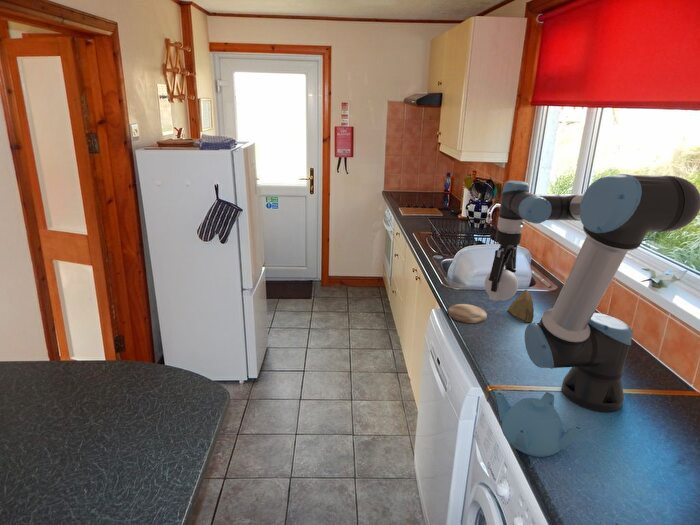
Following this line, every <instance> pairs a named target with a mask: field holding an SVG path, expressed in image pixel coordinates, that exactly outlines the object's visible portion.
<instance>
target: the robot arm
mask: <svg viewBox="0 0 700 525" xmlns="http://www.w3.org/2000/svg"><path fill="white" fill-rule="evenodd" d="M500 198H501V199H500V206H499V212H498V214H499V215H498V218H497V226H496V227H497V230H496V233H495V242H497V243H499V244H500V245H499V247H498V249H495V251H494V258H493V262H492V265H491V270H490V272H491V273H490V272H489V273H490V277H489V281H491V288H490V295H488V300H490V301H494V302H498V301H499V300H498V296H499V290H500V283H501V282H500V278H501V275H502V272H503V269H506V270H509V271H511V272H512V273H513V274H516V272H517V270H516V268H517V250H518V249H517V248H518V245H520V244H521V241H522V240H521V239H522V235H523V234H522V231H523V228H524V227H523V226H525V221H526V222H528V223H533V224H536V225H537V224H542V223H544V222H546V221H578V222H579V221H580V222H581V224H582V225H583V226H582V230H583V232H584V234H585V235H586V236H585V239H584V241H583V243H582V245H581V248H580V249H579V252H578V253H577V255H576V256H577V257H576V258H575V260H574V262H573V265H572V267H571V269H570V270H569V271H570V272H569V273H568V276H567V278H566V279H565V282H564V284H563V286H562V288H561V290H560V292H559V295H558V297H557V298H556V301H555V304H554V305H553V308H549V309H547V310H546V311H544V313H543V314H542V316H541V318H540V321H539V322H535V321H534V322H530V323H528V324H527V325H526V327H525V330H524V345H525V350H526V352H527V355H528V357H529V359H530V361H531V362H532V363H533V365H534V366H536V367H537V368H541V369H558V368H559V369H560V368H561V369H562V368H570V369H569V370H568V372H567V374H566V375H565V376H564V377H563V380H562V384H561V390H562V393H563V394H564V396H565V397H566V398H567V399H569V400H570V401H571V402H573V403H574V404H576V405H578V406H579V407H582V408H585V409H588V410H591V411H595V412H600V413H601V412H602V413H611V412H612V413H613V412H617V411H619V410H621V409H622V406H623V403H624V400H625V395H624V387H623V382H622V381H623V380H622V377H623V374H624V369H625V366H626V363H627V358H628V355H629V353H630V352H629V351H630V348H631V345H632V339H633V329H632V328H631V326H629V325H628V324H627V323H626V322H624V321H622V320H621V319H618V318H617V317H613V316H611V315H608V314H604V313H600V312H596V310H597V308H598V306H599V304H600V303H601V301H602V299H603V297H604V295H605V293H606V292H607V290H608V288H609V286H610V285H611V283H612V280H613V279H614V277H615V275H616V274H617V272H618V270H619V269H620V266H621V264H622V262H623V260H624V259H625V257H626V255H627V253H628V252H630V251H634V250H637V249H638V248H639V247H640V246H641V244H642V242H643V241H644V239H645V237H646V236H647V234H648V233H666V232H672V231H677V230H681V229H682V228H684V227H686V226H688V225H689V224H690V223H692V222H694V219H695V218H697V216H698V214H699V212H700V191H699V189H698V188H697V187H696V186H695V184H694V183H692V182H691V181H689V180H687V179H685V178H683V177H680V176H675V175H638V174H637V175H636V174H635V175H633V174H632V175H631V174H629V173H628V174H627V173H626V174H625V173H619V174H615V175H605V176H602V177H600V178H598V179H596V180H594V181H593V182H592V183H591V184H590V185H589V186H588V187H587V189H585V191H584V193H572V194H570V193H569V194H552V193H551V194H549V193H547V194H545V193H543V194H542V193H541V194H540V193H539V194H536V193H531V192H530V184H529V183H528V182H526V181H521V180H507V181H505V182H504V183H503V186H502V191H501V196H500Z"/></svg>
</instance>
